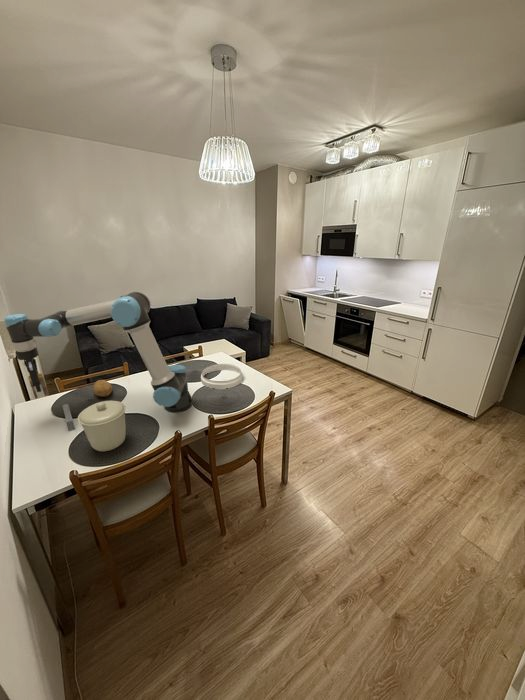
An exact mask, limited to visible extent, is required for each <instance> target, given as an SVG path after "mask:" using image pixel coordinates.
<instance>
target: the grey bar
mask: <svg viewBox="0 0 525 700" xmlns="http://www.w3.org/2000/svg"><path fill="white" fill-rule="evenodd" d="M62 408H63V413H64V417H65V421H66V422H65V423H66V424H67V428H68V431H69V432H70V431H74V430H76V427H75V424H74V420H73V416H72V413H71V409H70V406H69V404H68V403H65V404H62Z"/></svg>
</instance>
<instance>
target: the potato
mask: <svg viewBox="0 0 525 700" xmlns="http://www.w3.org/2000/svg"><path fill="white" fill-rule="evenodd" d="M112 392H113V385H112V383H110V381H108V380H106V379H99V380H96V381H95V382H94V385H93V393H94V394H95V395H96V396H98V397H108V396H110V395H111V394H112Z"/></svg>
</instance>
